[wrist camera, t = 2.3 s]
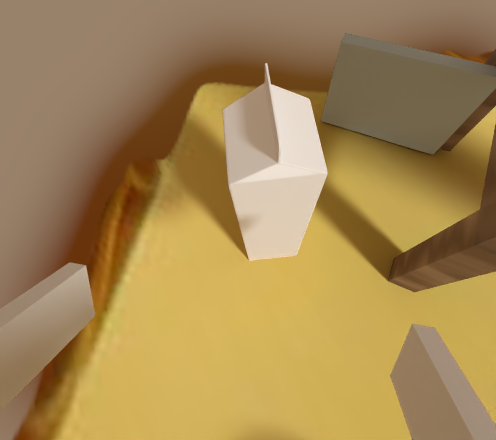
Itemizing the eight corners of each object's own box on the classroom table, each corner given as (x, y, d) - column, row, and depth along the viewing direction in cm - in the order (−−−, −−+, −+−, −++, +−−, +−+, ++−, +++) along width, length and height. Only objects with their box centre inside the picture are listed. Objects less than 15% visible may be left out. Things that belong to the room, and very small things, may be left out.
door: (437, 137, 38) (508, 57, 27) (432, 155, 37) (504, 79, 26) (328, 105, 41) (350, 23, 30) (320, 121, 40) (341, 41, 29)
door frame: (431, 128, 39) (532, 4, 24) (453, 135, 38) (571, 11, 23) (387, 280, 31) (496, 236, 16) (414, 292, 30) (553, 256, 16)
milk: (289, 212, 35) (320, 51, 15) (296, 256, 33) (346, 137, 13) (243, 217, 35) (213, 64, 15) (247, 262, 33) (218, 152, 13)
